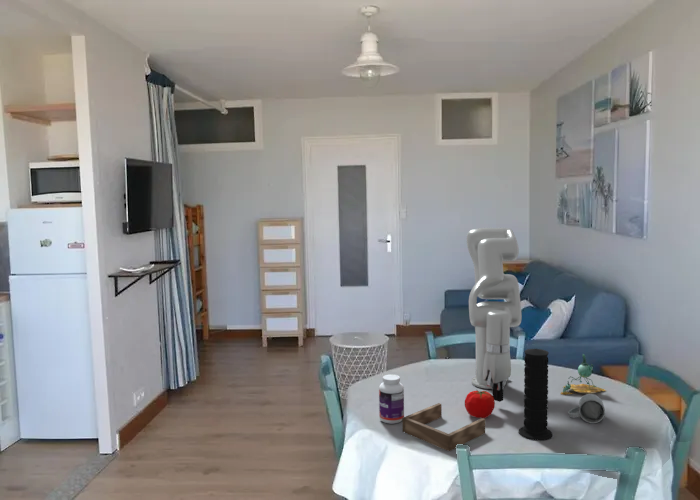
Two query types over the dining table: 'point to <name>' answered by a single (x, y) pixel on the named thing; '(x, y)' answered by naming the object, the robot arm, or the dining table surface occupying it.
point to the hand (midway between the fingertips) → (497, 400)
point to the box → (446, 441)
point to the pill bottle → (391, 399)
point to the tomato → (479, 404)
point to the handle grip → (536, 396)
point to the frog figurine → (584, 372)
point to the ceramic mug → (589, 409)
